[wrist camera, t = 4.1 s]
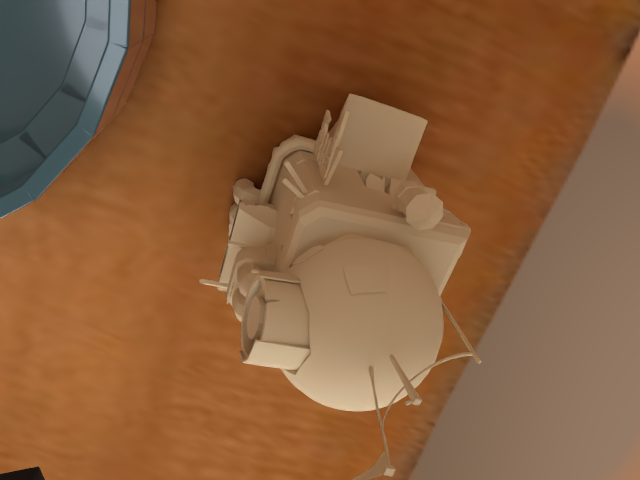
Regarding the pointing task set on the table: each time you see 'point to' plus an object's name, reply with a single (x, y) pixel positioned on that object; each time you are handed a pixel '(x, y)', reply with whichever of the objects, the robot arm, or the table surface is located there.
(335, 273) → the robot
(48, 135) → the shallow teal bowl
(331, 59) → the table surface
